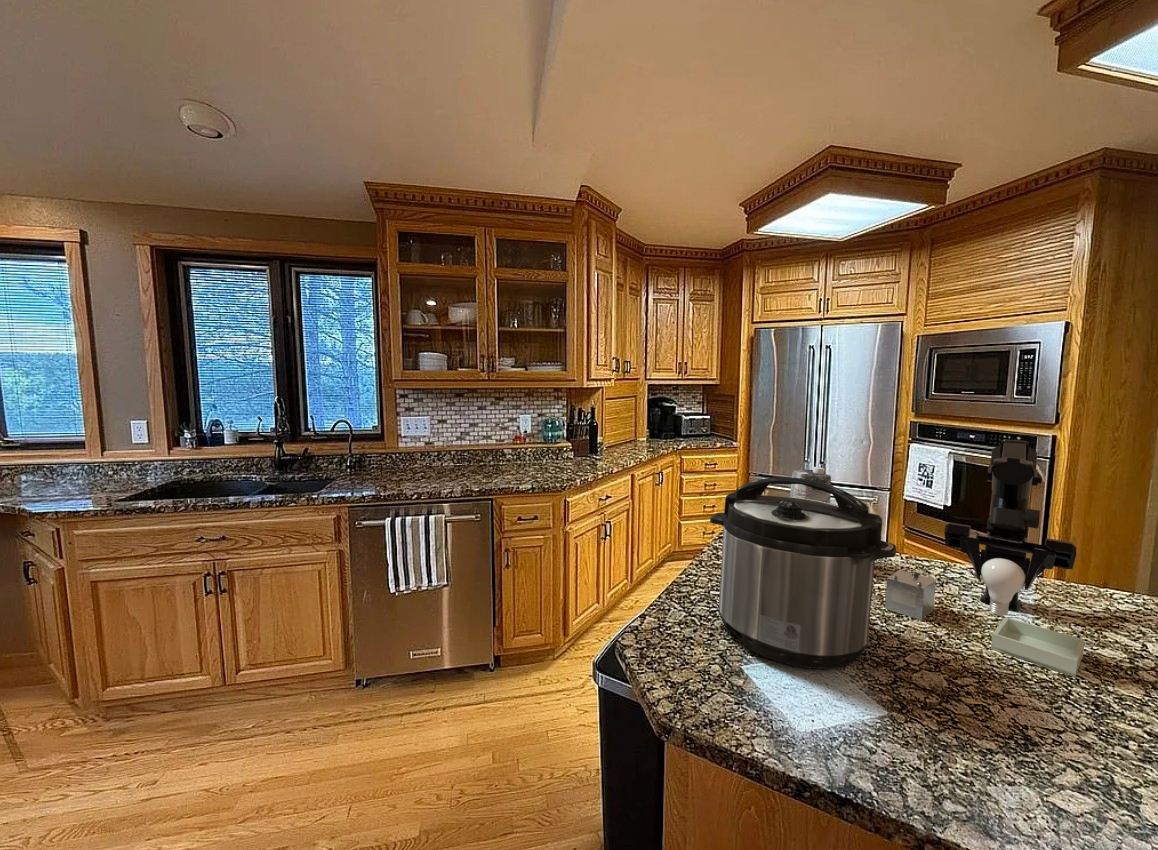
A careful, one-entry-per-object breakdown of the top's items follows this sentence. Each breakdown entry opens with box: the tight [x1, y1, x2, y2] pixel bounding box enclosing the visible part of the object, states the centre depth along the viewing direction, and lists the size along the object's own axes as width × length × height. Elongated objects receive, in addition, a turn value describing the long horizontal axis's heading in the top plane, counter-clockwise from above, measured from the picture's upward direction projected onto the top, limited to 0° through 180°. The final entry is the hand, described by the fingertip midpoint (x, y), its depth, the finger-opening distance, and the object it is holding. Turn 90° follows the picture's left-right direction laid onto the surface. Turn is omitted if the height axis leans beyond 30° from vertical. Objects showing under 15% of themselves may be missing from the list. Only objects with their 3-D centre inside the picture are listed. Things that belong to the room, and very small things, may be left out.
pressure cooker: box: [709, 476, 897, 669], centre depth 93 cm, size 30×28×32 cm
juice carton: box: [789, 466, 832, 503], centre depth 136 cm, size 9×10×27 cm
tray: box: [990, 616, 1086, 678], centre depth 89 cm, size 11×11×3 cm
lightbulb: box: [980, 558, 1026, 617], centre depth 90 cm, size 6×6×11 cm
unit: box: [884, 569, 937, 621], centre depth 106 cm, size 8×7×8 cm
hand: (1001, 583), depth 89 cm, fingers closed on lightbulb, 6 cm apart
